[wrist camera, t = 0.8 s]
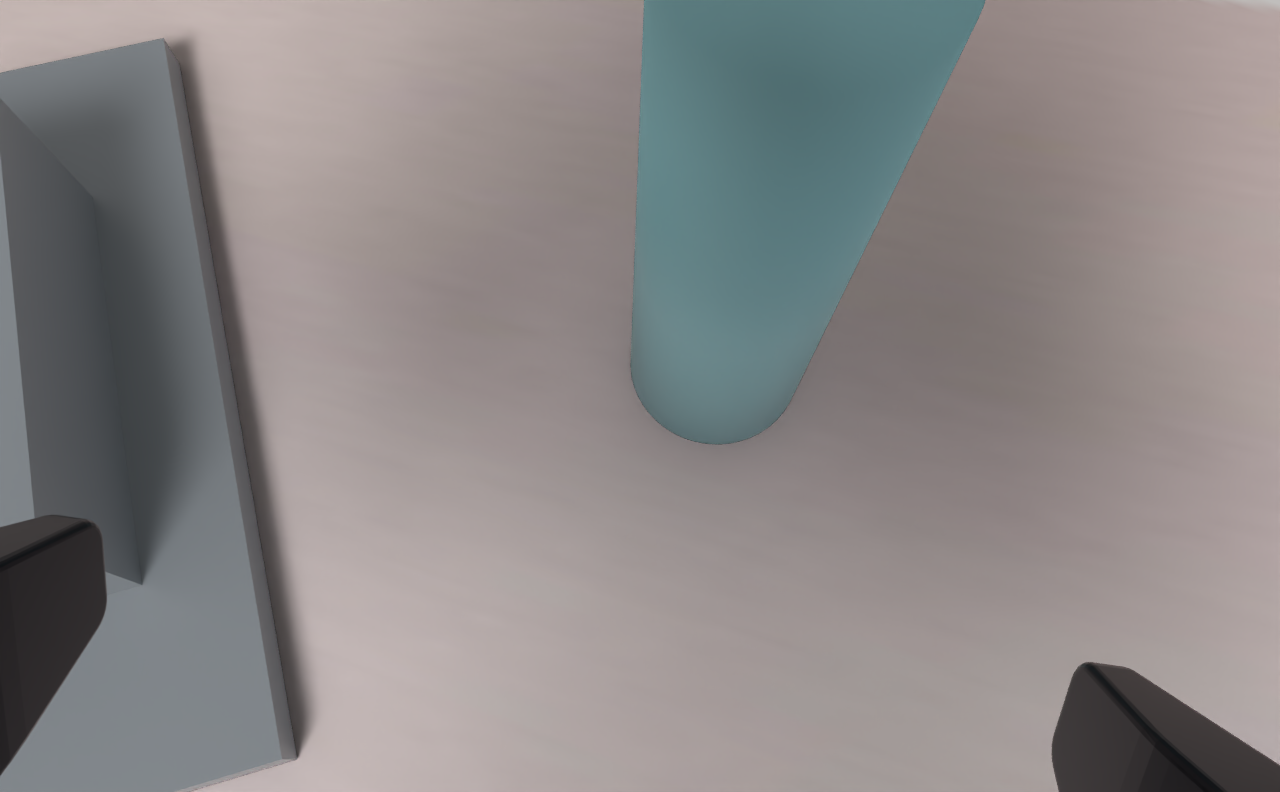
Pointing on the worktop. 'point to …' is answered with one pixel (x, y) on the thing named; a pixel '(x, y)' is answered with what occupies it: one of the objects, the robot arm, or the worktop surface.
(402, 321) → the worktop surface
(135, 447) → the socket holder
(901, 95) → the peg
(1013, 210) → the worktop surface
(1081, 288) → the worktop surface
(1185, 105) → the worktop surface
